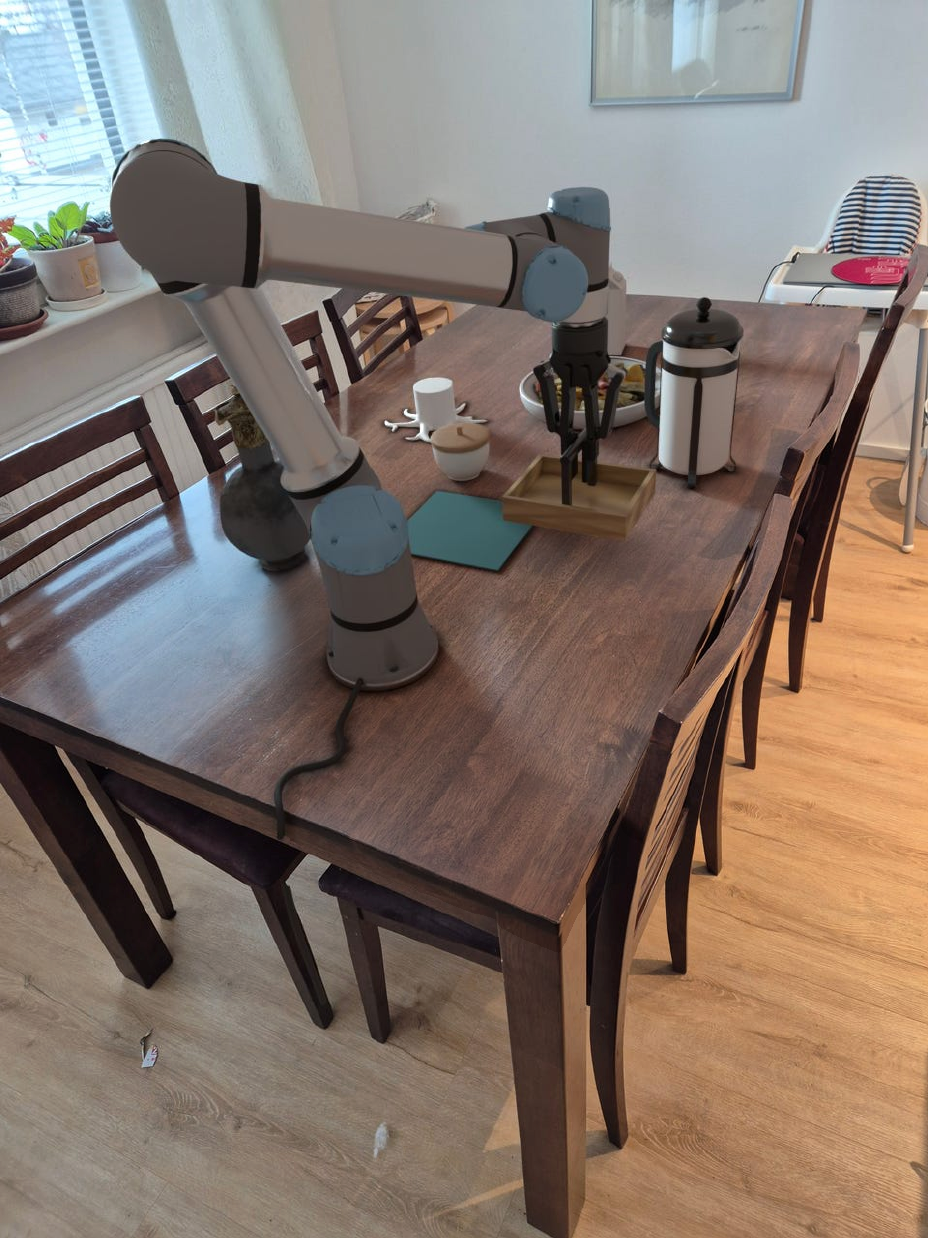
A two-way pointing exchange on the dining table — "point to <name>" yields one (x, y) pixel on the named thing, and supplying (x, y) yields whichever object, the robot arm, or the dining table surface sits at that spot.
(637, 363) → the bowl
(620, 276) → the milk carton
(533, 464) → the tray
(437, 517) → the mat
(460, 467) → the white jar with lid
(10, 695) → the dining table surface
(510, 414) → the dining table surface
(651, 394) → the coffee press
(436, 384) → the tree stump
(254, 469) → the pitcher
